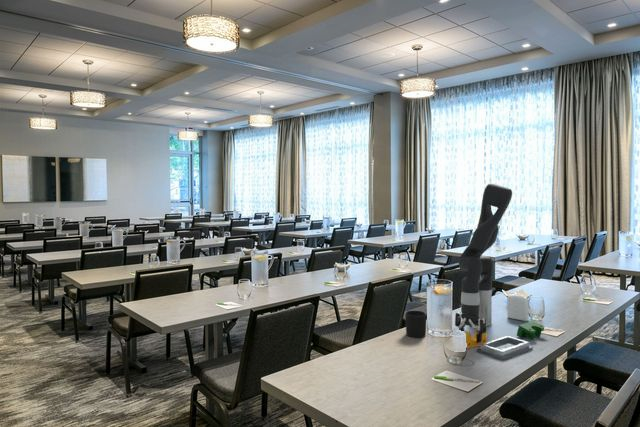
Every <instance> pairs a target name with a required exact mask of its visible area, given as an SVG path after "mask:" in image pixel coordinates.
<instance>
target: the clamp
mask: <svg viewBox="0 0 640 427" xmlns="http://www.w3.org/2000/svg"><path fill="white" fill-rule="evenodd" d="M544 330H545V326H544V325H542V324H541V323H539V322H537V321H534V320H532V321H527V322H525V323H522V324H519V325H518V327H517V331H516V336H517V337H518V338H521V339H524V338H528V339H530V340H532V341H533V340H534V338H535V337H537V338H541V335H542V332H543V331H544Z"/></svg>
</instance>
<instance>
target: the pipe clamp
mask: <svg viewBox="0 0 640 427" xmlns="http://www.w3.org/2000/svg"><path fill="white" fill-rule="evenodd" d="M464 332H465V333H466V343H467V348H468V349H472V348H473V347H478V346H481V344H484V343H487V342H488V341H487V338H488V337H487V334H488V333H487V332H488V331H487V328H486V333H483V334H482V341H481V342H480V343H477V342H476V334H477V333H475V334H473V335H471V333H470V332H469V331H466V330H464Z"/></svg>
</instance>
